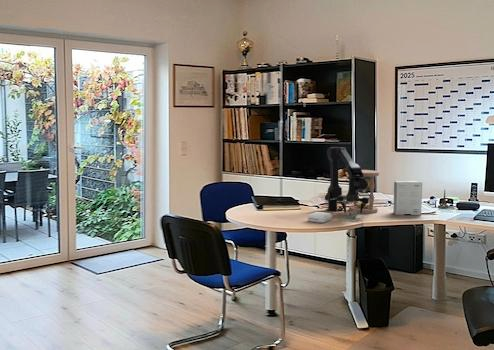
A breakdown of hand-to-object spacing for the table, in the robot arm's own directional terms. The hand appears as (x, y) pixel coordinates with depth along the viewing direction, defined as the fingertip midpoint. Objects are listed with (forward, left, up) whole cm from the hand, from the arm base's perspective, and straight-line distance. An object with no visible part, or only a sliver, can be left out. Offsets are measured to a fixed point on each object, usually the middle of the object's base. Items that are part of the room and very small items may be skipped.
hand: (352, 213), depth 311 cm
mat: (+3, 0, -2) cm, 4 cm away
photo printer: (+14, -13, 0) cm, 19 cm away
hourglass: (-22, +1, -2) cm, 22 cm away
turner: (+3, 0, -2) cm, 4 cm away
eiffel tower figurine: (-57, +46, -3) cm, 73 cm away
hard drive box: (-25, +27, -2) cm, 37 cm away
